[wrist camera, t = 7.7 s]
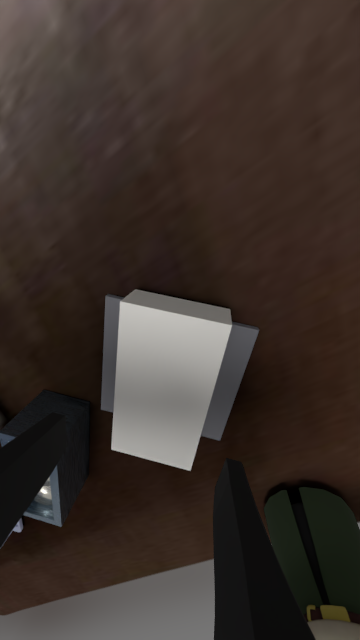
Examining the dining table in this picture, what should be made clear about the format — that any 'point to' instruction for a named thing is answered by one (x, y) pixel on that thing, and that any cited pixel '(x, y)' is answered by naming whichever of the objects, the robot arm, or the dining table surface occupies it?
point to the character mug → (319, 559)
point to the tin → (74, 461)
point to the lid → (165, 375)
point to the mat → (226, 381)
